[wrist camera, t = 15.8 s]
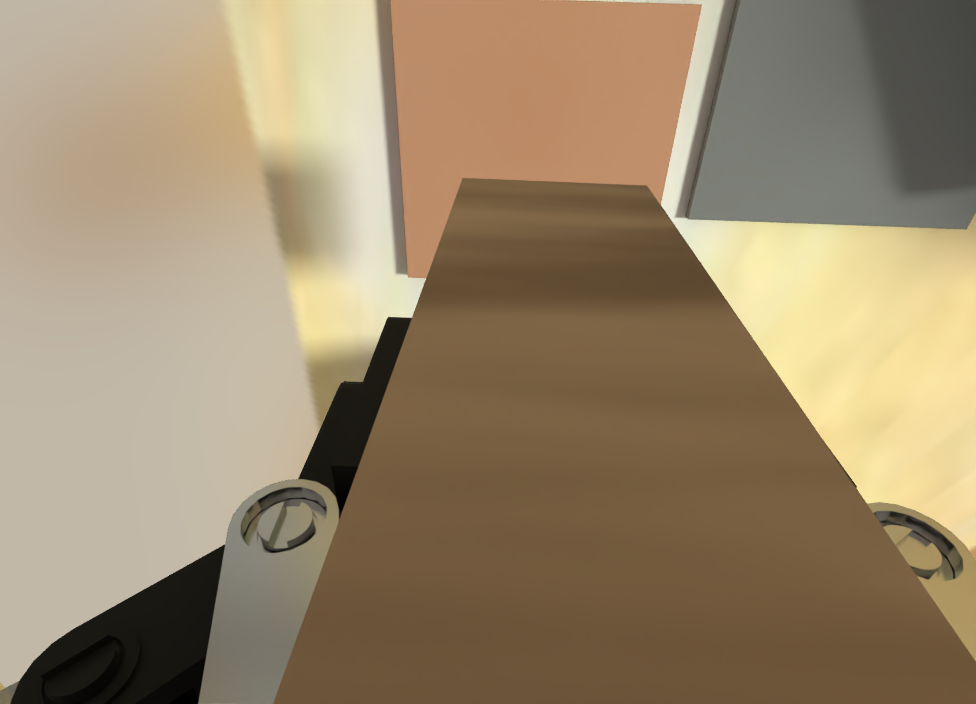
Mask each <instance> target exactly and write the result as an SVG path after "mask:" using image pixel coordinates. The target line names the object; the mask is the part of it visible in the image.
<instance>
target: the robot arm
mask: <svg viewBox="0 0 976 704" xmlns="http://www.w3.org/2000/svg"><path fill="white" fill-rule="evenodd" d="M411 320H412V318H399V317H388V318H387V320H386V323H385V326H384V328H383V331H382V333H381V336H380V339H379V341H378V344H377V347H376V349H375V352H374V354H373V357H372V360H371V362H370V365H369V367H368V370H367V373H366V375H365V378H364V381H363V382H346V381H344V382H342V383H341V385H340V386H339V388H338V390H337V392H336V395H335V397H334V399H333V401H332V404H331V406H330V408H329V410H328V413H327V415H326V417H325V420H324V422H323V424H322V426H321V429H320V431H319V433H318V435H317V438H316V440H315V442H314V445H313V447H312V449H311V451H310V454H309V456H308V458H307V460H306V463H305V465H304V467H303V470H302V472H301V474H300V477H299V478H298V479H296V480H286V481H282V482H278V483H274V484H271V485H269V486H267V487H265V488H263V489H261V490H259V491H257V492H255V493H254V494H253V495H252V496H250V497H249V498H248V499H246V500H245V501H244V502H243V503H242V504H241V505H240V506H239V508H238V509H237V510H236V512H235V513H234V514H233V516H232V519H231V522H230V524H229V527H228V532H227V538H226V544H225V545H223V546H221V547H219V548H218V549H216V550H214V551H212V552H211V553H209V554H207V555H205V556H203V557H202V558H200V559H198V560H196V561H195V562H193V563H191V564H189V565H187V566H186V567H184V568H182V569H180V570H178V571H176V572H175V573H173V574H171V575H169V576H168V577H166V578H164V579H162V580H160V581H159V582H157V583H155V584H153V585H151V586H150V587H148V588H146V589H144V590H142V591H141V592H139V593H137V594H135V595H134V596H132V597H130V598H128V599H126V600H125V601H123V602H121V603H119V604H117V605H116V606H114V607H112V608H110V609H109V610H107V611H105V612H103V613H102V614H100V615H98V616H96V617H94V618H92V619H91V620H89V621H87V622H85V623H83V624H82V625H80V626H78V627H76V628H75V629H73V630H71V631H70V632H68V633H67V634H65V635H64V636H62V637H61V638H59V639H58V640H57V641H55V642H54V643H52V644H51V645H50V646H49V647H48V648H47V649H46V650H45V651H44V652H43V653H42V654H41V655H40V656H39V657H37V658H36V660H34V661H33V663H32V664H31V666H30V667H29V668H28V670H27V671H26V672H25V674H24V675H23V677H22V678H21V679H20V681H19V682H16V683H14V684H13V685H10V686H8V687H6V688H5V687H4V686H3V685H2V684H1V683H0V704H273V702H274V700H275V697H276V694H277V691H278V689H279V686H280V683H281V680H282V677H283V675H284V672H285V669H286V666H287V664H288V661H289V658H290V655H291V652H292V650H293V647H294V644H295V641H296V639H297V636H298V633H299V630H300V627H301V625H302V622H303V619H304V616H305V614H306V611H307V608H308V605H309V603H310V600H311V597H312V594H313V591H314V589H315V586H316V583H317V580H318V578H319V575H320V572H321V569H322V566H323V564H324V561H325V558H326V555H327V553H328V550H329V547H330V544H331V541H332V539H333V536H334V533H335V530H336V528H337V525H338V522H339V519H340V517H341V514H342V511H343V508H344V505H345V503H346V500H347V497H348V494H349V492H350V489H351V486H352V483H353V480H354V478H355V475H356V472H357V469H358V467H359V464H360V461H361V458H362V455H363V453H364V450H365V447H366V444H367V442H368V439H369V436H370V433H371V431H372V428H373V425H374V422H375V419H376V417H377V414H378V411H379V408H380V406H381V403H382V400H383V397H384V394H385V392H386V389H387V386H388V383H389V381H390V378H391V375H392V372H393V369H394V367H395V364H396V361H397V358H398V356H399V353H400V350H401V347H402V345H403V342H404V339H405V336H406V333H407V331H408V328H409V325H410V322H411ZM822 440H823V439H822ZM827 447H828V446H827ZM829 450H830V449H829ZM830 451H831V450H830ZM831 453H832V452H831ZM832 454H833V453H832ZM834 457H835V456H834ZM835 458H836V457H835ZM836 460H837V459H836ZM837 461H838V460H837ZM838 463H839V461H838ZM839 464H840V463H839ZM840 466H841V464H840ZM841 467H842V466H841ZM842 468H843V467H842ZM843 470H844V468H843ZM844 471H845V470H844ZM845 473H846V474H847V472H846V471H845ZM847 476H848V477H849V475H848V474H847ZM849 479H850V480H851V481H852V479H851V478H850V477H849ZM852 483H853V484H854V486H855V487H857V486H856V485H855V483H854V482H853V481H852ZM867 505H868V506H869V508H870V509H871V510H872V512H873V513H874V515H875V516H876V518H877V519H878V521H879V522H880V523H881V525H882V526H883V528H884V529H885V531H886V532H887V534H888V535H889V537H890V538H891V539H892V541H893V542H894V544H895V545H896V547H897V548H898V550H899V551H900V552H901V554H902V555H903V557H904V558H905V560H906V561H907V563H908V564H909V565H910V567H911V568H912V570H913V571H914V573H915V574H916V576H917V577H918V579H919V580H920V581H921V583H922V584H923V586H924V587H925V589H926V590H927V592H928V593H929V594H930V596H931V597H932V599H933V600H934V602H935V603H936V605H937V606H938V607H939V609H940V610H941V612H942V613H943V615H944V616H945V618H946V619H947V620H948V622H949V623H950V625H951V626H952V628H953V629H954V631H955V632H956V634H957V635H958V636H959V638H960V639H961V641H962V642H963V644H964V645H965V647H966V648H967V649H968V651H969V652H970V654H971V655H972V657H973V658H974V660H975V661H976V561H975V559H974V557H973V556H972V554H971V553H970V552H969V550H968V549H967V547H966V546H965V544H963V543H962V542H961V541H960V540H959V539H958V538H957V537H956V536H955V535H954V534H953V533H952V532H951V531H949V530H948V529H946V528H945V527H944V526H942V525H941V524H939V523H938V522H936V521H935V520H933V519H931V518H929V517H927V516H925V515H923V514H921V513H919V512H917V511H915V510H912V509H909V508H906V507H903V506H899V505H896V504H889V503H881V502H878V503H870V504H867Z"/></svg>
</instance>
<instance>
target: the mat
mask: <svg viewBox="0 0 976 704" xmlns="http://www.w3.org/2000/svg"><path fill="white" fill-rule="evenodd" d="M975 212H976V0H737V3H736V7H735V11H734V15H733V20H732V24H731V28H730V32H729V36H728V41H727V45H726V49H725V53H724V58H723V62H722V66H721V70H720V75H719V79H718V83H717V87H716V92H715V96H714V100H713V104H712V108H711V113H710V117H709V121H708V125H707V130H706V134H705V138H704V142H703V147H702V151H701V155H700V159H699V164H698V168H697V172H696V176H695V180H694V185H693V189H692V193H691V197H690V202H689V206H688V210H687V214H686V217H687V218H688V219H697V220H725V221H752V222H780V223H808V224H835V225H863V226H890V227H918V228H945V229H967V227H968V225H969V223H970V222H971V220H972V218H973V216H974V214H975Z"/></svg>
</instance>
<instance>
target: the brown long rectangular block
mask: <svg viewBox="0 0 976 704" xmlns="http://www.w3.org/2000/svg"><path fill="white" fill-rule="evenodd" d="M273 704H976V661H975V660H974V658H973V657H972V655H971V654H970V652H969V651H968V649H967V648H966V647H965V645H964V644H963V642H962V641H961V639H960V638H959V636H958V635H957V634H956V632H955V631H954V629H953V628H952V626H951V625H950V623H949V622H948V620H947V619H946V618H945V616H944V615H943V613H942V612H941V610H940V609H939V607H938V606H937V605H936V603H935V602H934V600H933V599H932V597H931V596H930V594H929V593H928V592H927V590H926V589H925V587H924V586H923V584H922V583H921V581H920V580H919V579H918V577H917V576H916V574H915V573H914V571H913V570H912V568H911V567H910V565H909V564H908V563H907V561H906V560H905V558H904V557H903V555H902V554H901V552H900V551H899V550H898V548H897V547H896V545H895V544H894V542H893V541H892V539H891V538H890V537H889V535H888V534H887V532H886V531H885V529H884V528H883V526H882V525H881V523H880V522H879V521H878V519H877V518H876V516H875V515H874V513H873V512H872V510H871V509H870V508H869V506H868V505H867V503H866V502H865V500H864V499H863V497H862V496H861V495H860V493H859V492H858V490H857V489H856V487H855V486H854V484H853V483H852V481H851V480H850V479H849V477H848V476H847V474H846V473H845V471H844V470H843V468H842V467H841V466H840V464H839V463H838V461H837V460H836V458H835V457H834V455H833V454H832V453H831V451H830V450H829V448H828V447H827V445H826V444H825V442H824V441H823V440H822V438H821V437H820V435H819V434H818V432H817V431H816V429H815V428H814V426H813V425H812V424H811V422H810V421H809V419H808V418H807V416H806V415H805V413H804V412H803V411H802V409H801V408H800V406H799V405H798V403H797V402H796V400H795V399H794V398H793V396H792V395H791V393H790V392H789V390H788V389H787V387H786V386H785V384H784V383H783V382H782V380H781V379H780V377H779V376H778V374H777V373H776V371H775V370H774V369H773V367H772V366H771V364H770V363H769V361H768V360H767V358H766V357H765V356H764V354H763V353H762V351H761V350H760V348H759V347H758V345H757V344H756V342H755V341H754V340H753V338H752V337H751V335H750V334H749V332H748V331H747V329H746V328H745V327H744V325H743V324H742V322H741V321H740V319H739V318H738V316H737V315H736V314H735V312H734V311H733V309H732V308H731V306H730V305H729V303H728V302H727V300H726V299H725V298H724V296H723V295H722V293H721V292H720V290H719V289H718V287H717V286H716V285H715V283H714V282H713V280H712V279H711V277H710V276H709V274H708V273H707V272H706V270H705V269H704V267H703V266H702V264H701V263H700V261H699V260H698V259H697V257H696V256H695V254H694V253H693V251H692V250H691V248H690V247H689V245H688V244H687V243H686V241H685V240H684V238H683V237H682V235H681V234H680V232H679V231H678V230H677V228H676V227H675V225H674V224H673V222H672V221H671V219H670V218H669V217H668V215H667V214H666V212H665V211H664V209H663V208H662V206H661V205H660V203H659V202H658V201H657V199H656V198H655V196H654V195H653V193H652V192H651V190H650V189H649V188H648V186H647V185H623V184H599V183H575V182H551V181H526V180H502V179H478V178H462V181H461V184H460V186H459V189H458V192H457V195H456V197H455V200H454V203H453V206H452V209H451V211H450V214H449V217H448V220H447V222H446V225H445V228H444V231H443V234H442V236H441V239H440V242H439V245H438V247H437V250H436V253H435V256H434V258H433V261H432V264H431V267H430V270H429V272H428V275H427V278H426V281H425V283H424V286H423V289H422V292H421V295H420V297H419V300H418V303H417V306H416V308H415V311H414V314H413V317H412V320H411V322H410V325H409V328H408V331H407V333H406V336H405V339H404V342H403V345H402V347H401V350H400V353H399V356H398V358H397V361H396V364H395V367H394V369H393V372H392V375H391V378H390V381H389V383H388V386H387V389H386V392H385V394H384V397H383V400H382V403H381V406H380V408H379V411H378V414H377V417H376V419H375V422H374V425H373V428H372V431H371V433H370V436H369V439H368V442H367V444H366V447H365V450H364V453H363V455H362V458H361V461H360V464H359V467H358V469H357V472H356V475H355V478H354V480H353V483H352V486H351V489H350V492H349V494H348V497H347V500H346V503H345V505H344V508H343V511H342V514H341V517H340V519H339V522H338V525H337V528H336V530H335V533H334V536H333V539H332V541H331V544H330V547H329V550H328V553H327V555H326V558H325V561H324V564H323V566H322V569H321V572H320V575H319V578H318V580H317V583H316V586H315V589H314V591H313V594H312V597H311V600H310V603H309V605H308V608H307V611H306V614H305V616H304V619H303V622H302V625H301V627H300V630H299V633H298V636H297V639H296V641H295V644H294V647H293V650H292V652H291V655H290V658H289V661H288V664H287V666H286V669H285V672H284V675H283V677H282V680H281V683H280V686H279V689H278V691H277V694H276V697H275V700H274V702H273Z"/></svg>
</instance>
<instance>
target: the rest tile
mask: <svg viewBox="0 0 976 704" xmlns="http://www.w3.org/2000/svg"><path fill="white" fill-rule="evenodd" d="M390 3H391V19H392V34H393V50H394V66H395V81H396V97H397V113H398V129H399V144H400V160H401V176H402V192H403V207H404V223H405V239H406V255H407V270H408V277H413V278H427V275H428V272H429V270H430V267H431V264H432V261H433V258H434V256H435V253H436V250H437V247H438V245H439V242H440V239H441V236H442V234H443V231H444V228H445V225H446V222H447V220H448V217H449V214H450V211H451V209H452V206H453V203H454V200H455V197H456V195H457V192H458V189H459V186H460V184H461V181H462V178H478V179H502V180H526V181H551V182H575V183H599V184H623V185H647V186H648V188H649V189H650V190H651V192H652V193H653V195H654V196H655V198H656V199H657V201H658V202H659V203H660V205H661V200H662V195H663V190H664V186H665V181H666V176H667V171H668V166H669V161H670V157H671V152H672V147H673V142H674V137H675V132H676V128H677V123H678V118H679V113H680V108H681V103H682V98H683V94H684V89H685V84H686V79H687V74H688V69H689V65H690V60H691V55H692V50H693V45H694V40H695V35H696V31H697V26H698V21H699V16H700V11H701V6H702V5H699V4H667V3H633V2H600V1H567V0H390Z"/></svg>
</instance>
